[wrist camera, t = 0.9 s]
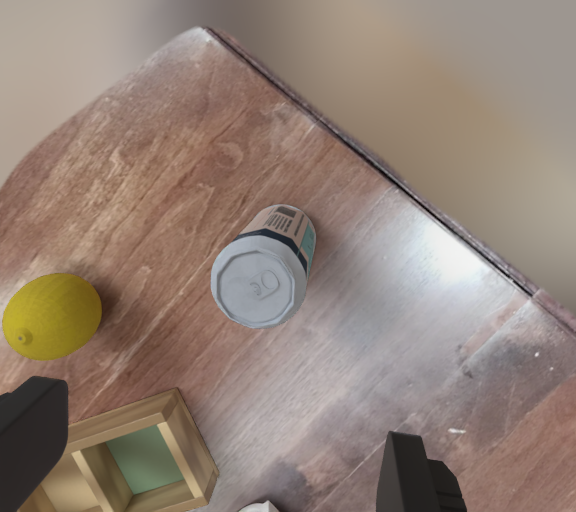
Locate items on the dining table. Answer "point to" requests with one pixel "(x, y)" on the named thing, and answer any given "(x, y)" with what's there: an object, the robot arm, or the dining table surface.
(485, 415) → the dining table surface
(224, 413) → the dining table surface
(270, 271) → the beer can
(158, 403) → the wooden divided tray
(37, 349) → the lemon
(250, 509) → the long cone
